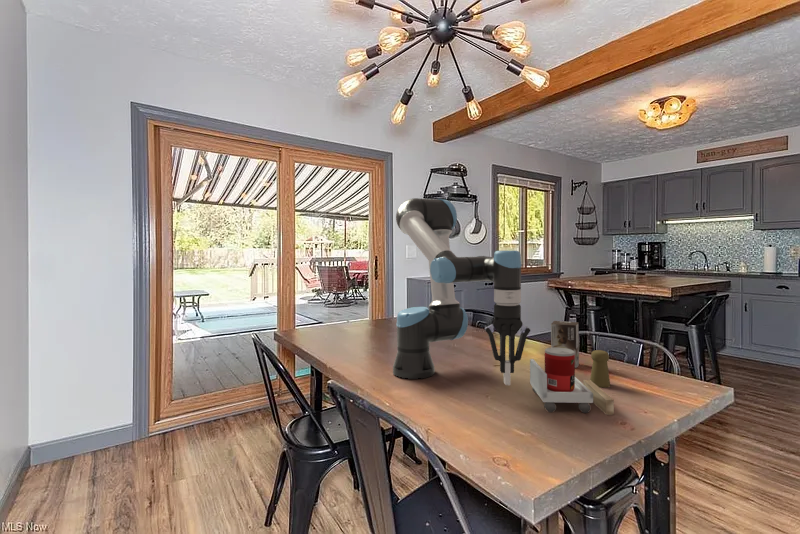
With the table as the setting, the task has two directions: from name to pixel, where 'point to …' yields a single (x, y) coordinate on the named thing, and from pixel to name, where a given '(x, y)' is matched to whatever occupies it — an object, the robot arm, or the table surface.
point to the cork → (600, 369)
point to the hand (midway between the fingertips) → (506, 383)
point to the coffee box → (566, 337)
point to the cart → (549, 397)
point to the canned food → (560, 369)
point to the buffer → (600, 398)
